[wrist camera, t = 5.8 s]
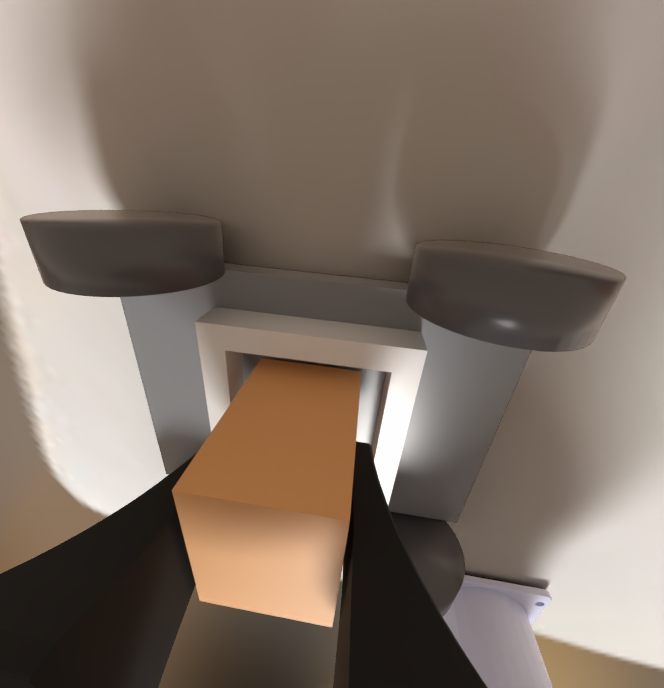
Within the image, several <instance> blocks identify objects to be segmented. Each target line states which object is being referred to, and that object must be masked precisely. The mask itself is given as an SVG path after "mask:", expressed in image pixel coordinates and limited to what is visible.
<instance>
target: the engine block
mask: <svg viewBox="0 0 664 688" xmlns="http://www.w3.org/2000/svg"><path fill="white" fill-rule="evenodd" d="M361 372H362V371H354V370H347V369H339V368H332V367H324V366H317V365H309V364H302V363H294V362H287V361H279V360H272V359H264V358H261V360H260V361H259V362H258V364H257V365H256V367H255V368H254V370H253V371H252V373H251V374H250V376H249V377H248V379H247V380H246V382H245V383H244V385H243V386H242V388H241V389H240V390H239V392H238V393H237V395H236V396H235V398H234V399H233V401H232V402H231V404H230V405H229V407H228V408H227V410H226V411H225V413H224V414H223V416H222V417H221V418H220V420H219V421H218V423H217V424H216V426H215V427H214V429H213V430H212V432H211V433H210V435H209V436H208V438H207V439H206V441H205V442H204V444H203V445H202V446H201V448H200V449H199V451H198V452H197V454H196V455H195V457H194V458H193V460H192V461H191V463H190V464H189V466H188V467H187V469H186V470H185V472H184V473H183V474H182V476H181V477H180V479H179V480H178V482H177V483H176V485H175V486H174V488H173V489H172V493H173V497H174V501H175V505H176V509H177V513H178V517H179V521H180V525H181V529H182V533H183V536H184V540H185V544H186V548H187V552H188V556H189V560H190V564H191V568H192V572H193V576H194V580H195V583H196V587H197V591H198V594H199V599H200V601H204V602H208V603H213V604H218V605H224V606H228V607H233V608H238V609H243V610H249V611H254V612H259V613H263V614H268V615H273V616H278V617H283V618H288V619H293V620H298V621H303V622H308V623H313V624H318V625H323V626H328V627H332V625H333V619H334V613H335V607H336V601H337V595H338V589H339V583H340V577H341V571H342V566H343V560H344V554H345V548H346V542H347V536H348V530H349V524H350V514H351V501H352V488H353V475H354V462H355V449H356V436H357V424H358V411H359V398H360V385H361Z"/></svg>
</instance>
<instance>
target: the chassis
mask: <svg viewBox="0 0 664 688" xmlns="http://www.w3.org/2000/svg"><path fill="white" fill-rule="evenodd" d="M20 222H21V224H22V227H23V230H24V232H25V235H26V238H27V240H28V243H29V246H30V248H31V251H32V254H33V256H34V259H35V262H36V264H37V267H38V270H39V272H40V275H41V278H42V280H43V283H44V284H45V285H46V286H47V287H49V288H51V289H53V290H56V291H59V292H64V293H68V294H75V295H83V296H96V297H120V298H121V302H122V306H123V310H124V314H125V317H126V321H127V325H128V329H129V333H130V337H131V340H132V344H133V348H134V352H135V356H136V360H137V363H138V367H139V371H140V375H141V379H142V383H143V386H144V390H145V394H146V398H147V402H148V406H149V409H150V413H151V417H152V421H153V425H154V429H155V432H156V436H157V440H158V444H159V448H160V452H161V455H162V459H163V463H164V467H165V471H166V474H171V473H172V472H173V471H174V470H176V469H177V468H178V467H180V466H181V465H182V464H183V463H185V462H186V461H187V460H188V459H189V458H191V457H192V456H193V455H194V454H195V453H197V452H198V451H199V449H200V448H201V446H202V445H203V444H204V442H205V441H206V439H207V438H208V436H209V435H210V433H211V432H212V430H213V429H214V427H215V426H216V424H217V423H218V421H219V420H220V418H221V417H222V416H223V414H224V413H225V411H226V410H227V408H228V407H229V405H230V404H231V402H232V401H233V399H234V398H235V396H236V395H237V393H238V392H239V390H240V389H241V388H242V386H243V385H244V383H245V382H246V380H247V379H248V377H249V376H250V374H251V373H252V371H253V370H254V368H255V367H256V365H257V364H258V362H259V361H260V360H261V358H264V359H272V360H279V361H287V362H294V363H302V364H309V365H317V366H324V367H332V368H339V369H347V370H354V371H362V372H361V385H360V398H359V411H358V424H357V436H356V441H357V442H364V443H369V444H370V445H371V446H372V452H373V458H374V462H375V466H376V470H377V474H378V477H379V481H380V484H381V487H382V490H383V493H384V496H385V499H386V502H387V504H388V507H389V510H390V512H391V515H392V517H393V520H394V522H395V525H396V527H397V529H398V532H399V534H400V536H401V539H402V541H403V543H404V545H405V547H406V549H407V551H408V554H409V556H410V558H411V560H412V562H413V564H414V566H415V568H416V570H417V572H418V574H419V576H420V577H421V579H422V581H423V583H424V585H425V587H426V588H427V590H428V592H429V594H430V595H431V597H432V599H433V601H434V603H435V604H436V606H437V608H438V610H439V611H440V613H441V615H442V617H443V616H444V615H445V614H446V613H447V612H448V610H449V609H450V607H451V605H452V603H453V601H454V600H455V598H456V596H457V594H458V592H459V590H460V588H461V586H462V583H463V579H464V574H465V562H464V556H463V552H462V549H461V546H460V543H459V541H458V539H457V537H456V535H455V534H454V532H453V531H452V529H451V528H450V526H449V525H448V524H447V523H446V521H450V522H457V520H458V518H459V515H460V513H461V511H462V509H463V506H464V504H465V502H466V499H467V497H468V495H469V492H470V490H471V488H472V486H473V483H474V481H475V479H476V476H477V474H478V472H479V469H480V467H481V465H482V463H483V460H484V458H485V456H486V453H487V451H488V449H489V447H490V444H491V442H492V440H493V437H494V435H495V433H496V430H497V428H498V426H499V424H500V421H501V419H502V417H503V414H504V412H505V410H506V407H507V405H508V403H509V401H510V398H511V396H512V394H513V391H514V389H515V387H516V385H517V382H518V380H519V378H520V375H521V373H522V371H523V368H524V366H525V364H526V362H527V359H528V357H529V355H530V352H531V350H535V351H551V352H558V351H572V350H578V349H581V348H584V347H586V346H588V345H590V344H591V342H592V341H593V339H594V337H595V336H596V334H597V332H598V330H599V328H600V326H601V324H602V322H603V321H604V319H605V317H606V315H607V313H608V311H609V309H610V308H611V306H612V304H613V302H614V300H615V298H616V296H617V294H618V293H619V291H620V289H621V287H622V285H623V283H624V281H625V279H626V276H625V275H624V274H623V273H621V272H619V271H617V270H615V269H613V268H610V267H607V266H604V265H601V264H598V263H594V262H591V261H587V260H583V259H579V258H575V257H571V256H566V255H561V254H557V253H552V252H546V251H541V250H535V249H529V248H523V247H516V246H509V245H502V244H494V243H484V242H474V241H459V240H430V241H423V242H419V243H417V245H416V248H415V253H414V258H413V264H412V269H411V274H410V279H409V283H404V282H394V281H385V280H376V279H367V278H357V277H348V276H339V275H330V274H321V273H311V272H302V271H293V270H284V269H274V268H265V267H256V266H247V265H238V264H228V263H224V254H223V242H222V231H221V222H220V221H219V220H217V219H214V218H210V217H205V216H199V215H192V214H183V213H172V212H157V211H134V210H79V211H59V212H47V213H39V214H32V215H28V216H24V217H22V218H20Z"/></svg>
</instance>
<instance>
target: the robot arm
mask: <svg viewBox="0 0 664 688" xmlns="http://www.w3.org/2000/svg"><path fill="white" fill-rule="evenodd" d="M196 454H197V453H195V454H194V455H193V456H192V457H191V458H189V459H188V460H187V461H186V462H185V463H183V464H182V465H181V466H180V467H178V468H177V469H176V470H174V471H173V472H172V473H171V474H169V475H168V476H167V477H165V478H164V479H163V480H162V481H160V482H159V483H158V484H156V485H155V486H153V487H152V488H151V489H149V490H148V491H146V492H145V493H144V494H142V495H141V496H139V497H138V498H136V499H135V500H133V501H132V502H130V503H129V504H127V505H126V506H124V507H123V508H121V509H120V510H118V511H116V512H115V513H113V514H112V515H110V516H108V517H107V518H105V519H103V520H102V521H100V522H98V523H97V524H95V525H93V526H92V527H90V528H88V529H87V530H85V531H83V532H81V533H80V534H78V535H76V536H74V537H72V538H71V539H69V540H67V541H65V542H63V543H61V544H60V545H58V546H56V547H54V548H52V549H50V550H48V551H46V552H44V553H42V554H40V555H38V556H37V557H35V558H33V559H31V560H29V561H27V562H24V563H23V564H20V565H18V566H16V567H14V568H12V569H10V570H8V571H6V572H3V573H2V574H0V688H158V686H159V683H160V680H161V677H162V674H163V672H164V669H165V666H166V663H167V660H168V658H169V655H170V652H171V649H172V646H173V644H174V641H175V638H176V635H177V632H178V629H179V627H180V624H181V622H182V619H183V616H184V613H185V611H186V608H187V606H188V603H189V600H190V598H191V595H192V592H193V590H194V587H195V585H196V583H195V580H194V576H193V572H192V568H191V564H190V560H189V556H188V552H187V548H186V544H185V540H184V536H183V533H182V529H181V525H180V521H179V517H178V513H177V509H176V505H175V501H174V497H173V493H172V489H173V488H174V486H175V485H176V483H177V482H178V480H179V479H180V477H181V476H182V474H183V473H184V472H185V470H186V469H187V467H188V466H189V464H190V463H191V461H192V460H193V458H194V457H195V455H196ZM551 600H552V599H551V596H550V594H549V592H548V591H547V590H545V589H540V588H535V587H529V586H524V585H518V584H513V583H507V582H502V581H496V580H491V579H485V578H480V577H474V576H468V575H464V579H463V583H462V586H461V588H460V590H459V592H458V594H457V596H456V598H455V600H454V601H453V603H452V605H451V607H450V609H449V610H448V612H447V613H446V614H445V615H444V616H443V617H442V615H441V613H440V611H439V610H438V608H437V606H436V604H435V603H434V601H433V599H432V597H431V595H430V594H429V592H428V590H427V588H426V587H425V585H424V583H423V581H422V579H421V577H420V576H419V574H418V572H417V570H416V568H415V566H414V564H413V562H412V560H411V558H410V556H409V554H408V551H407V549H406V547H405V545H404V543H403V541H402V539H401V536H400V534H399V532H398V529H397V527H396V525H395V522H394V520H393V517H392V515H391V512H390V510H389V507H388V504H387V502H386V499H385V496H384V493H383V490H382V487H381V484H380V481H379V477H378V474H377V470H376V466H375V462H374V458H373V452H372V446H371V445H370V444H369V443H364V442H357V441H356V449H355V462H354V475H353V488H352V501H351V514H350V524H349V530H348V536H347V542H346V548H345V554H344V560H343V586H342V599H341V610H340V621H339V631H338V642H337V643H338V644H337V653H336V663H335V674H334V685H333V688H553V687H552V684H551V681H550V678H549V675H548V673H547V670H546V667H545V664H544V661H543V659H542V656H541V653H540V650H539V647H538V644H537V642H536V639H535V636H534V633H533V630H532V628H531V625H532V623H533V622H534V621H535V620H536V619H537V617H538V616H539V615H540V614H541V613H542V611H543V610H544V609H545V608H546V607H547V605H548V604H549V603H550V602H551Z"/></svg>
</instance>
